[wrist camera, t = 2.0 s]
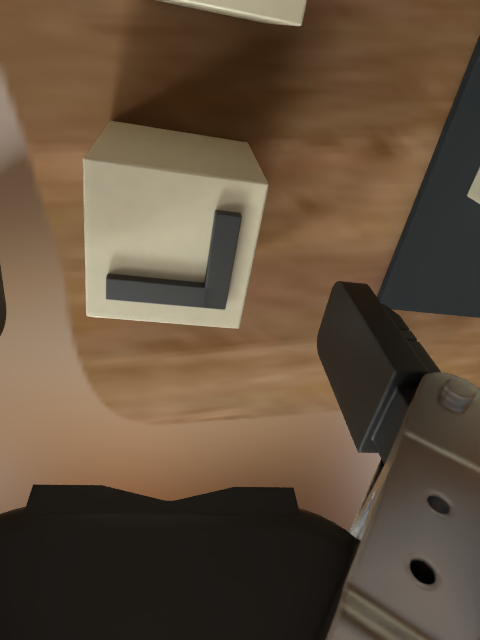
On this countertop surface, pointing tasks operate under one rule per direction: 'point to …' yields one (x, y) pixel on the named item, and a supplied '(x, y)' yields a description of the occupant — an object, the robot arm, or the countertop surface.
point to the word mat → (444, 220)
